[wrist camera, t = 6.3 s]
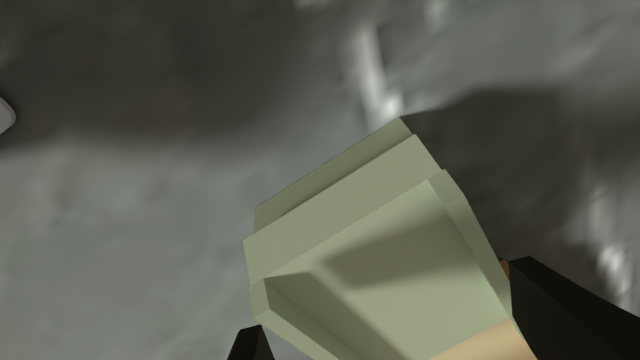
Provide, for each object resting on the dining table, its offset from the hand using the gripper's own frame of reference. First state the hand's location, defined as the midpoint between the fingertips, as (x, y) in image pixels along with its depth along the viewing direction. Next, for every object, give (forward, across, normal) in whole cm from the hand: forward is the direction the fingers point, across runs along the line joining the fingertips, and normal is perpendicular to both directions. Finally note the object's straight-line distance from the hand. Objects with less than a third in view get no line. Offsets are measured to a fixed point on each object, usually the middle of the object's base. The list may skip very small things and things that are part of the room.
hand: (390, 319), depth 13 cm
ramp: (+7, -1, +3) cm, 8 cm away
